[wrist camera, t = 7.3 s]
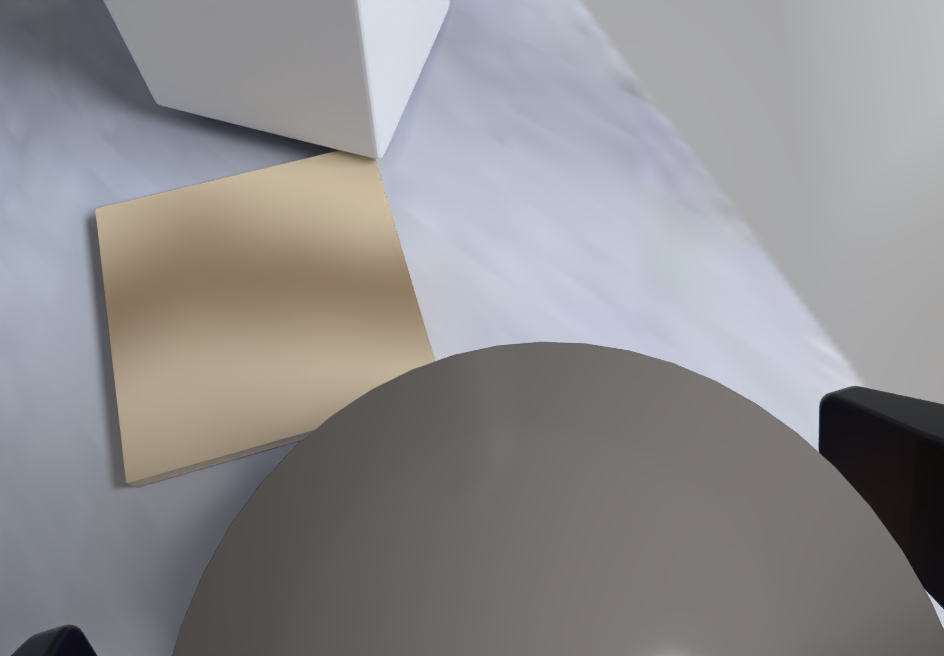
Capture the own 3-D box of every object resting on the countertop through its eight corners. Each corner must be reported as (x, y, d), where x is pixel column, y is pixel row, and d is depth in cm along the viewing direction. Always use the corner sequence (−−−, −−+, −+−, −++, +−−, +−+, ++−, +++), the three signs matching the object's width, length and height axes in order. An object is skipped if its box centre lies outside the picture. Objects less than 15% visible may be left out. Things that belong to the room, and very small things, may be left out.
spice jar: (626, 707, 14) (1183, 1095, 3) (417, 780, 14) (221, 1542, 3) (555, 495, 16) (762, 269, 5) (365, 554, 16) (108, 451, 4)
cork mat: (445, 399, 18) (444, 392, 17) (137, 487, 17) (126, 483, 16) (373, 154, 21) (370, 142, 20) (105, 219, 20) (95, 208, 19)
